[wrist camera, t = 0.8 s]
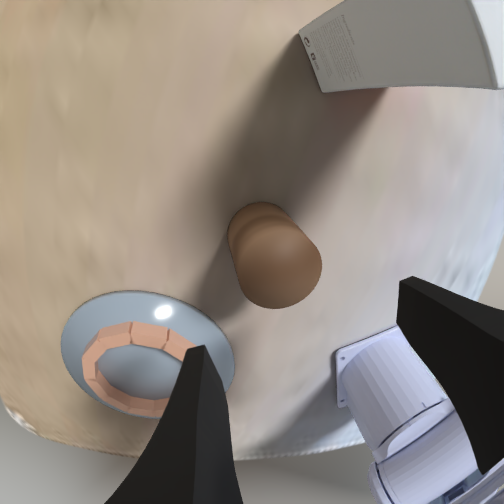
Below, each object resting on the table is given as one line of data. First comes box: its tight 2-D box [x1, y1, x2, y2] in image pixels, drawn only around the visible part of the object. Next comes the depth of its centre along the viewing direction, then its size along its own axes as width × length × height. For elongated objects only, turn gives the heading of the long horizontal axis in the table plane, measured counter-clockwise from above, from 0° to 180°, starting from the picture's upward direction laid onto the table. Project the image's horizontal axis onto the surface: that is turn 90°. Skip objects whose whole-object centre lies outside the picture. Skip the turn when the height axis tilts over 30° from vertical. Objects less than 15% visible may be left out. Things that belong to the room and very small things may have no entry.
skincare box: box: [299, 0, 504, 93], centre depth 9 cm, size 6×4×12 cm
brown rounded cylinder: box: [227, 202, 322, 309], centre depth 16 cm, size 4×4×5 cm
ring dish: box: [61, 290, 235, 419], centre depth 21 cm, size 14×14×2 cm
